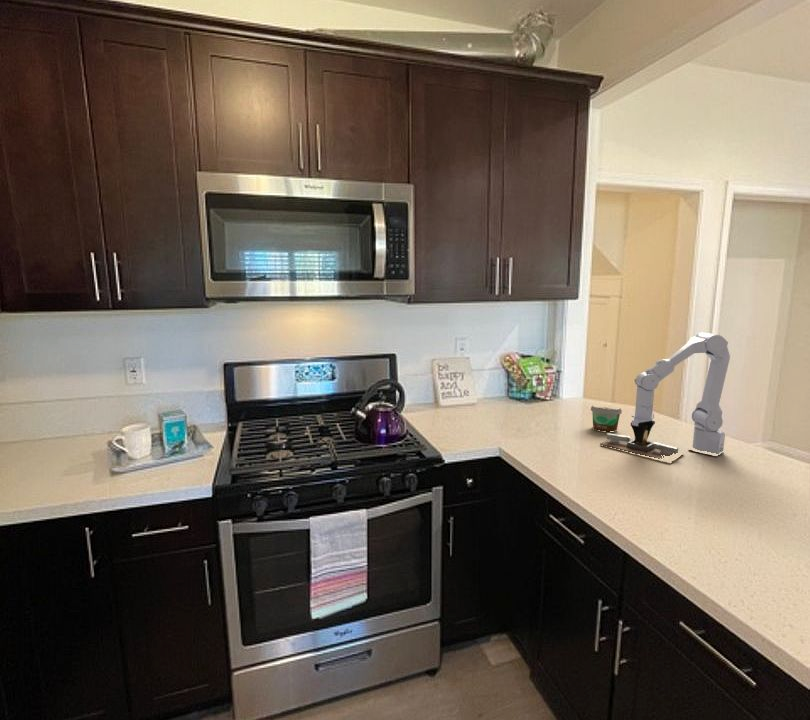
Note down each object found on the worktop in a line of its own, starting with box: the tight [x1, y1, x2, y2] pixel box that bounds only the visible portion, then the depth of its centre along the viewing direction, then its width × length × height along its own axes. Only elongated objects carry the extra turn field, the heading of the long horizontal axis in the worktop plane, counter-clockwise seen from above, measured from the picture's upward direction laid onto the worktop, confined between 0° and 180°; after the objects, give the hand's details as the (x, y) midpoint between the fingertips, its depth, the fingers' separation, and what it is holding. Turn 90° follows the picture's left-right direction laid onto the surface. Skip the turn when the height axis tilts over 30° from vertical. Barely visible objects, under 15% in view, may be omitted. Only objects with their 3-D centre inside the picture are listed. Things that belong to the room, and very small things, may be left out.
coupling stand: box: [599, 432, 679, 459], centre depth 176 cm, size 25×13×4 cm, turn 41°
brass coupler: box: [635, 429, 648, 446], centre depth 176 cm, size 4×4×6 cm
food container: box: [590, 404, 622, 433], centre depth 198 cm, size 12×6×10 cm, turn 62°
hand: (641, 440), depth 176 cm, fingers closed on brass coupler, 4 cm apart
